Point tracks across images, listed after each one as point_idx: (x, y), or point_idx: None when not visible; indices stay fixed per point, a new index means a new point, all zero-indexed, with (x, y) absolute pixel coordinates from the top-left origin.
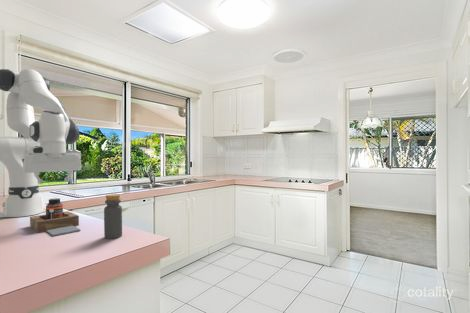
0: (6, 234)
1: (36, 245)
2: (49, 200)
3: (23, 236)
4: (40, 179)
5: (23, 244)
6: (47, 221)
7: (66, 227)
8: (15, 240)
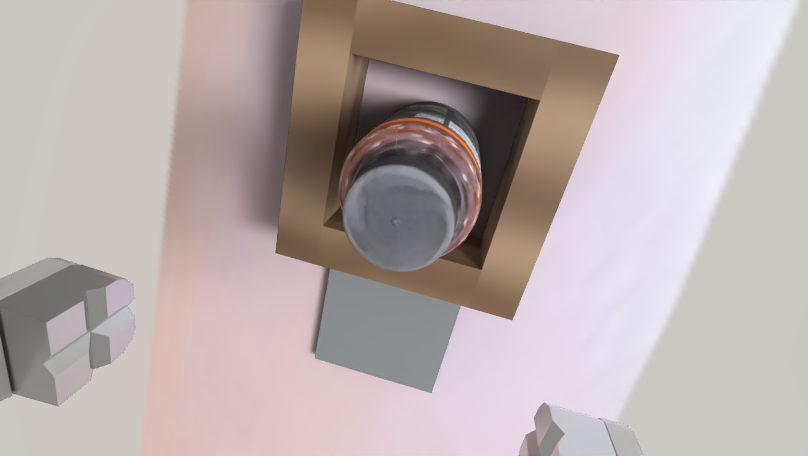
0: (186, 91)
1: (236, 396)
2: (344, 218)
3: (236, 226)
4: (16, 388)
5: (208, 345)
6: (327, 264)
7: (420, 298)
8: (197, 261)
